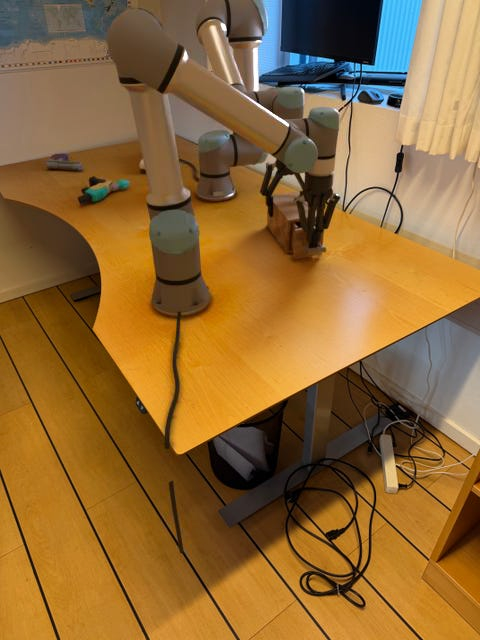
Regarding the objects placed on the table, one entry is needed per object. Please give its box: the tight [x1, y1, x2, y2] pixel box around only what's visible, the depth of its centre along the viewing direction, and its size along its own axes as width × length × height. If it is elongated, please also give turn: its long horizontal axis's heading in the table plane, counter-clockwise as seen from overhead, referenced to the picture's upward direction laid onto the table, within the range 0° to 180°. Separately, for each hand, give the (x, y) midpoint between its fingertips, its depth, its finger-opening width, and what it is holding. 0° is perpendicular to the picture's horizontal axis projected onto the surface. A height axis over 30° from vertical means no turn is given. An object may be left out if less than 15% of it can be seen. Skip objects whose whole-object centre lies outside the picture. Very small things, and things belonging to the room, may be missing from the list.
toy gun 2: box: [77, 175, 130, 205], centre depth 186 cm, size 4×26×15 cm
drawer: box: [290, 221, 327, 259], centre depth 146 cm, size 26×9×9 cm, turn 15°
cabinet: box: [266, 191, 316, 254], centre depth 153 cm, size 20×10×11 cm, turn 15°
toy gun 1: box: [44, 152, 84, 171], centre depth 216 cm, size 4×19×15 cm
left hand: (312, 251), depth 139 cm, fingers closed
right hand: (285, 213), depth 157 cm, fingers closed on cabinet, 10 cm apart
